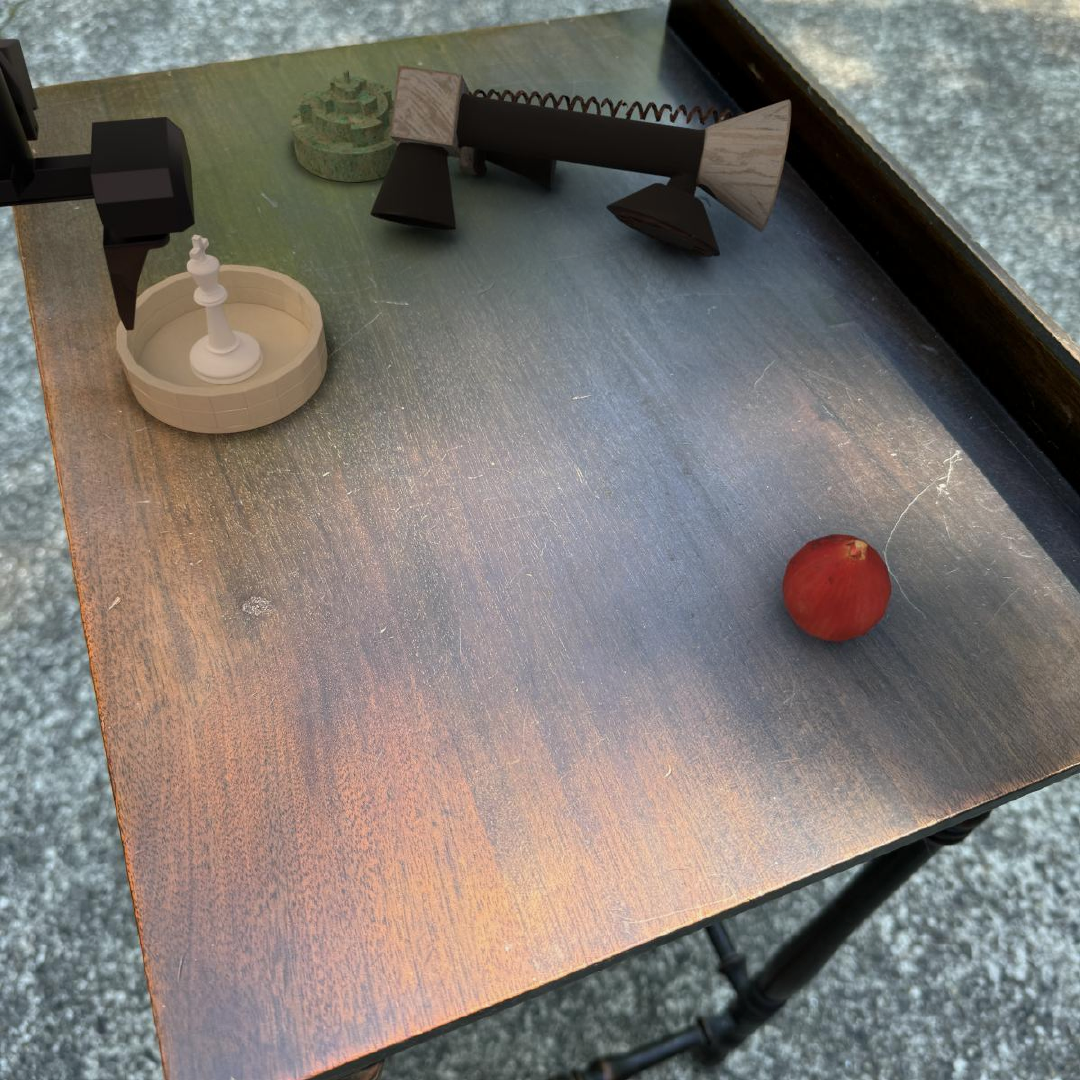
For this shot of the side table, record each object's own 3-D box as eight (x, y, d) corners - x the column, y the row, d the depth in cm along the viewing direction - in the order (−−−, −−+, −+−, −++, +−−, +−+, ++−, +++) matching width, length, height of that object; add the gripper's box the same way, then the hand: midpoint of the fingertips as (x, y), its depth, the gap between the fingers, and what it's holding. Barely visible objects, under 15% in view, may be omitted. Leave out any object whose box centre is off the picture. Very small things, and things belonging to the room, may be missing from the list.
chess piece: (177, 376, 69) (139, 252, 61) (209, 331, 72) (177, 207, 64) (245, 391, 69) (215, 268, 61) (274, 345, 72) (250, 222, 64)
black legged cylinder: (736, 284, 88) (397, 232, 89) (764, 133, 86) (416, 81, 87) (764, 268, 73) (357, 206, 74) (798, 84, 71) (378, 22, 72)
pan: (130, 447, 66) (115, 407, 63) (130, 315, 74) (116, 275, 71) (338, 419, 68) (332, 380, 66) (316, 294, 76) (310, 255, 73)
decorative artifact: (320, 111, 92) (277, 170, 86) (311, 33, 87) (263, 90, 81) (426, 130, 91) (389, 191, 85) (423, 53, 86) (384, 111, 80)
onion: (751, 599, 61) (783, 513, 54) (834, 574, 62) (874, 488, 56) (800, 679, 57) (840, 597, 51) (886, 651, 59) (935, 568, 53)
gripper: (148, -63, 47) (215, 227, 59) (-305, -44, 44) (-135, 261, 56) (150, 52, 40) (225, 352, 53) (-384, 87, 37) (-171, 400, 49)
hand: (37, 335), depth 53 cm, fingers open, 9 cm apart
